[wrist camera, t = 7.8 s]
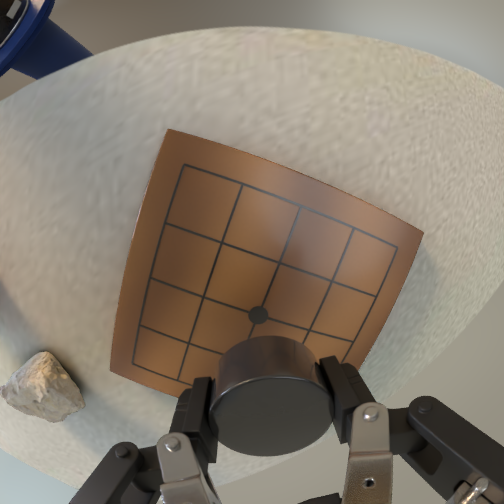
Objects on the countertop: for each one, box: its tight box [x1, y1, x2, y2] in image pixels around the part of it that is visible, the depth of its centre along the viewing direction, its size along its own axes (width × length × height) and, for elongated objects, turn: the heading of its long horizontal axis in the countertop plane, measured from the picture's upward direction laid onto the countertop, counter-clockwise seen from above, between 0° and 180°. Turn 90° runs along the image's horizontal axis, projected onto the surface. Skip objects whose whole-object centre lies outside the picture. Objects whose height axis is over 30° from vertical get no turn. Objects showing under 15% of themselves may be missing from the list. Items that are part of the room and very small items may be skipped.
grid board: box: [110, 129, 424, 398], centre depth 20 cm, size 20×20×2 cm
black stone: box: [208, 335, 335, 456], centre depth 11 cm, size 5×5×3 cm
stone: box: [0, 351, 85, 423], centre depth 18 cm, size 8×12×10 cm
